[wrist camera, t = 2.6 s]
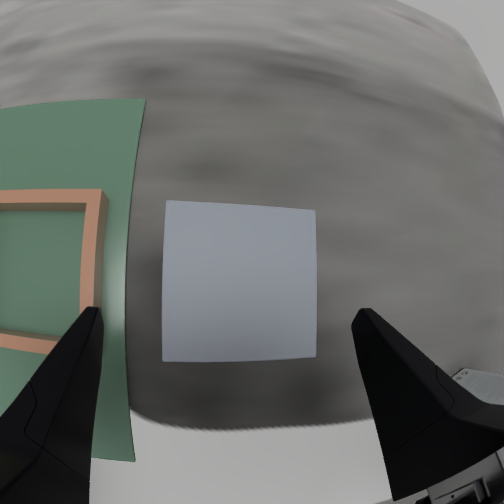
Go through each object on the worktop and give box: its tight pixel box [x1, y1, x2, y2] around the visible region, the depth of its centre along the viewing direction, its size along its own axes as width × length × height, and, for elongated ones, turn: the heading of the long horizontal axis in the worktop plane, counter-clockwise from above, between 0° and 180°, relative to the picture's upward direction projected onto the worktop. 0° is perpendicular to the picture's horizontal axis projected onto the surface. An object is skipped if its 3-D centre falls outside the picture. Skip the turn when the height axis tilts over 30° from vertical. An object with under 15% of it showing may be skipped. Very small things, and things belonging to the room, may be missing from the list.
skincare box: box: [452, 368, 504, 405], centre depth 16 cm, size 6×4×12 cm
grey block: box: [162, 200, 317, 362], centre depth 14 cm, size 5×5×10 cm
